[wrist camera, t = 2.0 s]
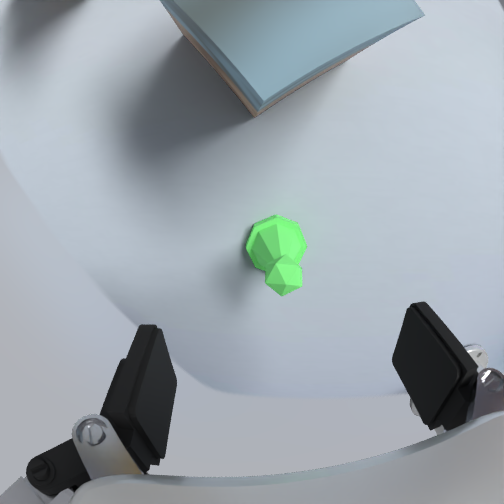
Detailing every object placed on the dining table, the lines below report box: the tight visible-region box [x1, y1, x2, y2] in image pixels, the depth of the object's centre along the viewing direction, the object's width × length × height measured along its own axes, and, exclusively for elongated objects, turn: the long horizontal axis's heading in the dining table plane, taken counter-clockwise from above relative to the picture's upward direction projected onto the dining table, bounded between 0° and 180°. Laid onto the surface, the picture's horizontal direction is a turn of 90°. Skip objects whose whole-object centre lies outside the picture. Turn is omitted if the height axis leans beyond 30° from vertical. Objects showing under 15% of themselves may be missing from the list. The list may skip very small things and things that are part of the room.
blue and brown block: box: [160, 0, 425, 118], centre depth 11 cm, size 8×8×10 cm
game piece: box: [246, 215, 307, 296], centre depth 18 cm, size 4×4×6 cm
